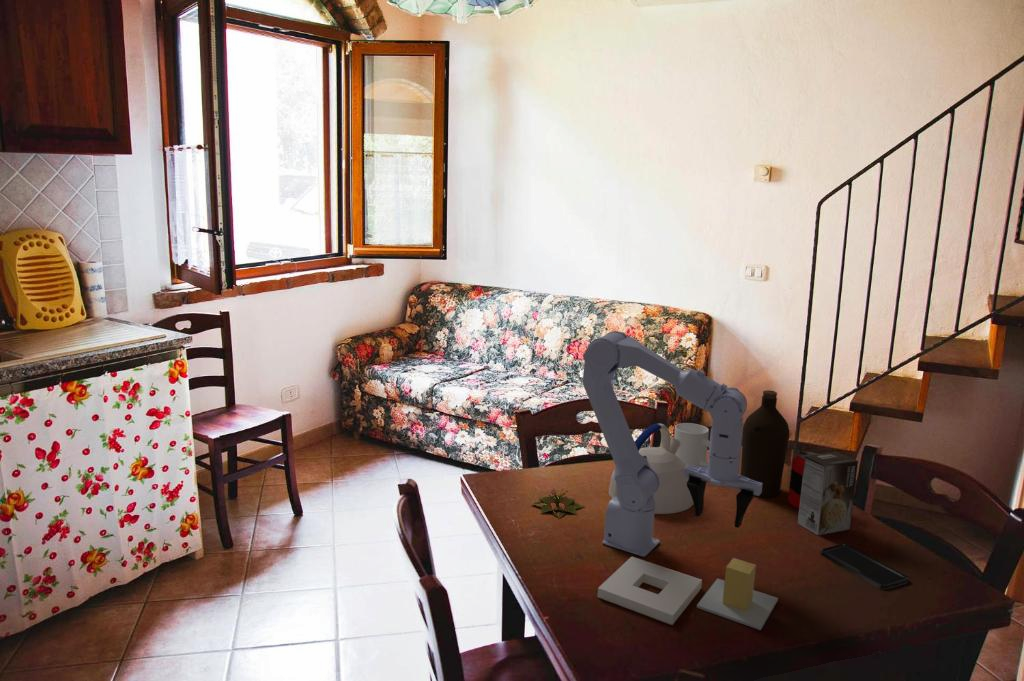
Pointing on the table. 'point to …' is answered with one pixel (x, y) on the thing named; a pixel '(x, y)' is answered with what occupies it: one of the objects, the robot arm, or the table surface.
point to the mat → (750, 617)
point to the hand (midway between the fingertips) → (718, 520)
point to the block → (739, 584)
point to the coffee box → (827, 492)
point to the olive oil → (765, 445)
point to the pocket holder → (659, 606)
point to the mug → (692, 444)
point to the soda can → (797, 478)
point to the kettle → (663, 472)
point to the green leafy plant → (563, 500)
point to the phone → (864, 566)
